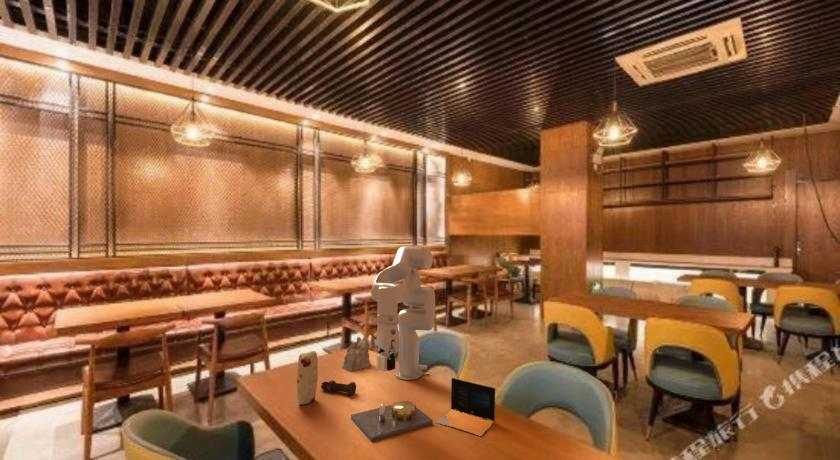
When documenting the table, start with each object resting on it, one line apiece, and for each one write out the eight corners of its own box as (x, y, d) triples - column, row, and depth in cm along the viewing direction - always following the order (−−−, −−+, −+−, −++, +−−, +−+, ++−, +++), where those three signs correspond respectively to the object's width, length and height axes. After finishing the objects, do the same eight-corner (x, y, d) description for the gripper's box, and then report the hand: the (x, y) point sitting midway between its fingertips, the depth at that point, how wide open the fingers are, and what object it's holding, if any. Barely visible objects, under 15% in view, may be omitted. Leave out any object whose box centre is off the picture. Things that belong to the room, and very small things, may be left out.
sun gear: (401, 406, 152) (401, 398, 152) (420, 413, 147) (420, 405, 147) (386, 415, 145) (386, 407, 145) (405, 422, 140) (405, 414, 140)
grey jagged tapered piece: (359, 356, 215) (358, 329, 214) (375, 366, 202) (375, 337, 201) (333, 364, 205) (332, 336, 204) (349, 374, 192) (348, 344, 191)
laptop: (435, 424, 143) (435, 388, 143) (451, 410, 154) (451, 377, 154) (481, 438, 134) (482, 400, 134) (495, 423, 144) (495, 387, 144)
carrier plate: (407, 404, 157) (408, 387, 157) (432, 424, 142) (432, 404, 142) (351, 418, 145) (351, 399, 145) (371, 441, 130) (372, 420, 130)
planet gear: (390, 364, 153) (390, 351, 153) (398, 369, 147) (399, 355, 147) (373, 366, 149) (373, 353, 149) (381, 372, 143) (381, 358, 143)
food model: (305, 408, 152) (306, 356, 152) (291, 405, 155) (292, 354, 155) (321, 398, 162) (322, 349, 161) (308, 395, 164) (308, 347, 164)
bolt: (323, 393, 171) (354, 397, 166) (317, 391, 167) (349, 395, 162) (327, 379, 174) (357, 383, 169) (321, 377, 170) (352, 380, 165)
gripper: (407, 322, 143) (406, 372, 142) (385, 313, 157) (384, 358, 157) (388, 324, 139) (387, 375, 138) (368, 315, 153) (367, 361, 153)
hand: (386, 366), depth 148 cm, fingers closed on planet gear, 7 cm apart
